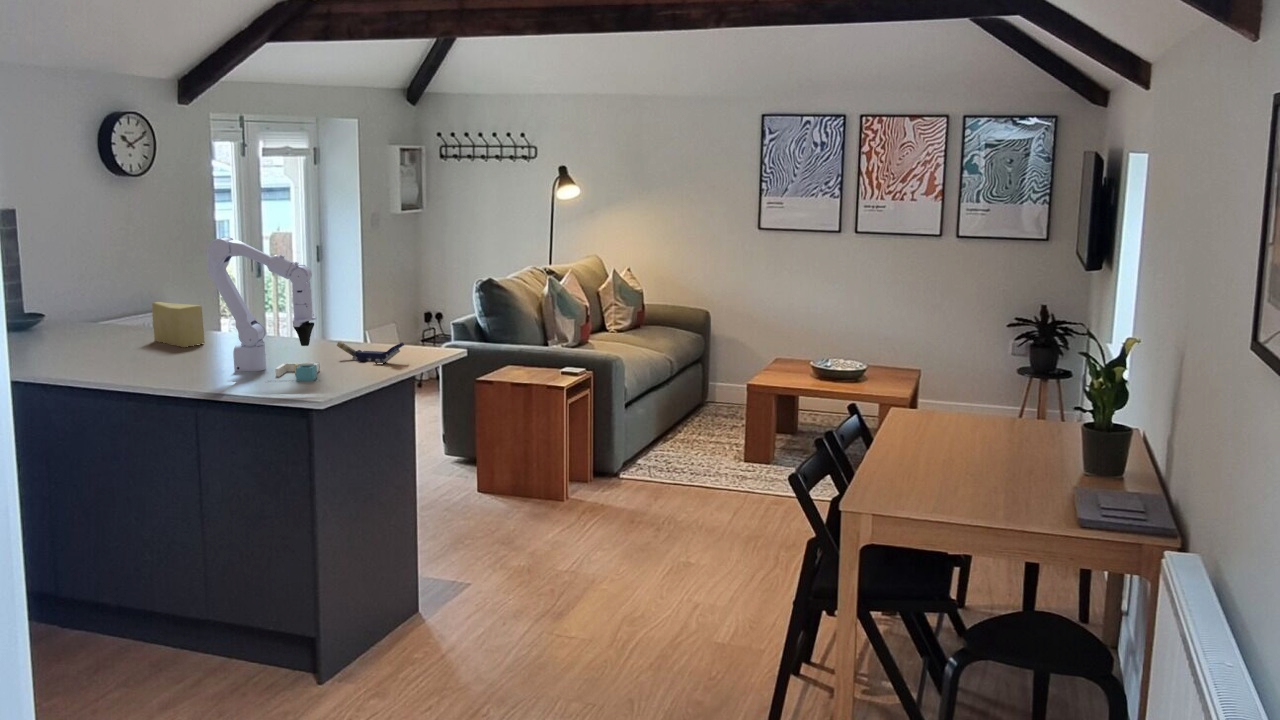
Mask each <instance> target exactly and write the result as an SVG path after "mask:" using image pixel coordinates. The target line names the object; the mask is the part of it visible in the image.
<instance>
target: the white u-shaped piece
mask: <svg viewBox="0 0 1280 720" xmlns="http://www.w3.org/2000/svg"><path fill="white" fill-rule="evenodd" d="M297 364H298V365H316V368H317V373H319V372H320V371H321V369H320V368H321V367H320V362H283V363H281V364H280V365H278V366H277V367H275V377H276V378H277V377H281V376H282V375H284V374H285V373H287V372H295V365H297Z"/></svg>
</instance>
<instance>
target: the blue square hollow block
mask: <svg viewBox="0 0 1280 720" xmlns="http://www.w3.org/2000/svg"><path fill="white" fill-rule="evenodd" d="M295 377H296V381H306V382H315V381H314V380H317V378H318V372H317V368H316V365H299V366H298V367H297V368H296V374H295Z"/></svg>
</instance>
